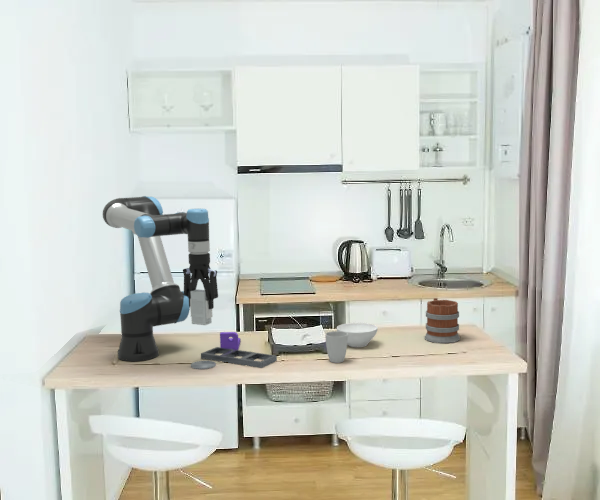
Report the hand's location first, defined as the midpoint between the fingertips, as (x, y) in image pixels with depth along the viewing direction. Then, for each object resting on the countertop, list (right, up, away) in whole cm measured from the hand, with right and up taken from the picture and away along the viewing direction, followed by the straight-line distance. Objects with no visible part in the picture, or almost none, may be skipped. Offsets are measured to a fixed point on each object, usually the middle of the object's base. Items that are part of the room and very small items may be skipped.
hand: (201, 316), depth 272 cm
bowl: (+57, -14, +27) cm, 65 cm away
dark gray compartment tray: (+12, -17, +9) cm, 23 cm away
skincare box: (0, -3, 0) cm, 3 cm away
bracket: (+8, -15, +29) cm, 33 cm away
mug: (+92, -12, +35) cm, 99 cm away
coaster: (0, -18, +2) cm, 18 cm away
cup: (+48, -17, +5) cm, 52 cm away
